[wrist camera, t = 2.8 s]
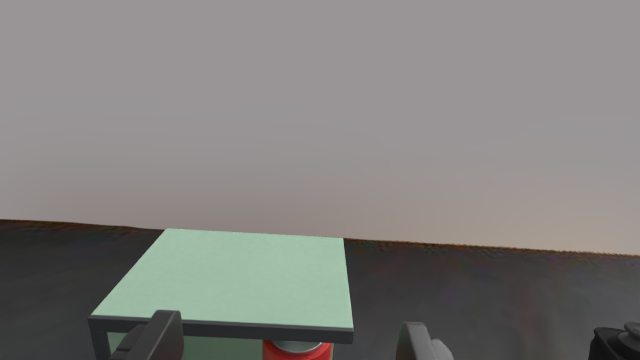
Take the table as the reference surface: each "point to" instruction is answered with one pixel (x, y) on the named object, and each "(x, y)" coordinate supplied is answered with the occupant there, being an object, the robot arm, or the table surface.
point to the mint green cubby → (232, 293)
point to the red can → (295, 350)
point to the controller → (616, 343)
